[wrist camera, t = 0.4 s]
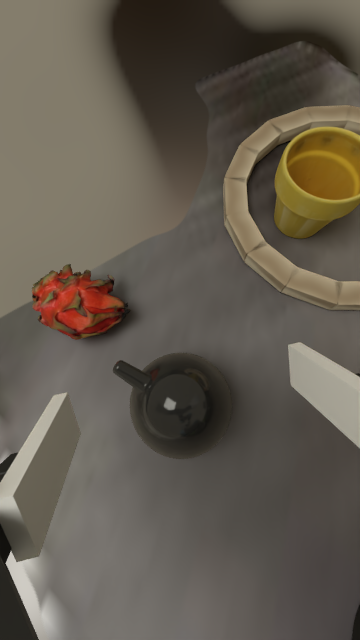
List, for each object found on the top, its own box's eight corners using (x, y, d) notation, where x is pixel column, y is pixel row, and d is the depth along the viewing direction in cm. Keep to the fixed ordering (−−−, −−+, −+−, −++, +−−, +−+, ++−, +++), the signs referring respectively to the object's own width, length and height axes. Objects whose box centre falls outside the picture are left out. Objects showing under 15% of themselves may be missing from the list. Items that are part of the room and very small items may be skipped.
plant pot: (336, 255, 37) (385, 205, 27) (259, 248, 37) (281, 197, 28) (334, 192, 39) (378, 127, 30) (262, 187, 40) (283, 122, 31)
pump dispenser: (169, 343, 34) (150, 302, 20) (242, 387, 32) (281, 379, 18) (123, 415, 32) (63, 429, 17) (198, 467, 30) (201, 532, 16)
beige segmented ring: (512, 255, 35) (588, 221, 28) (289, 348, 33) (313, 335, 26) (372, 94, 44) (404, 39, 37) (190, 159, 42) (189, 114, 35)
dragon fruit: (52, 302, 38) (134, 321, 39) (17, 343, 32) (117, 365, 32) (45, 247, 33) (141, 270, 34) (1, 282, 26) (121, 310, 27)
